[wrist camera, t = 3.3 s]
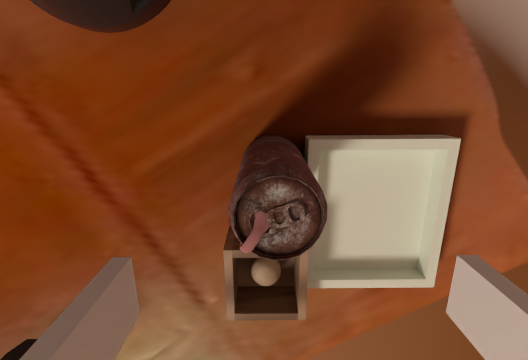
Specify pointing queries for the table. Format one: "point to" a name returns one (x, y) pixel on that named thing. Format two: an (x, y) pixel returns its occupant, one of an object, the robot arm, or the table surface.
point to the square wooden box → (263, 287)
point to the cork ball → (265, 271)
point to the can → (276, 201)
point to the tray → (380, 208)
